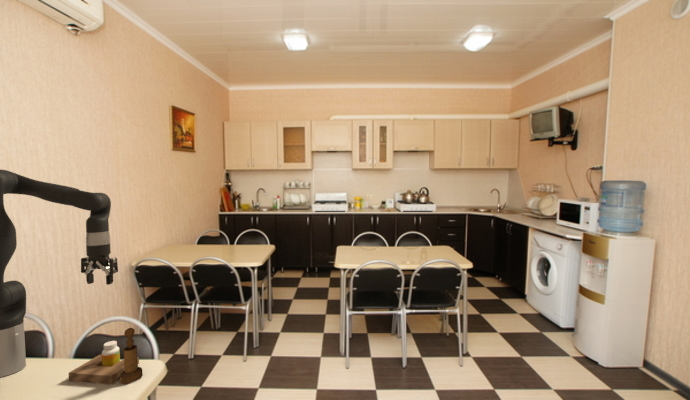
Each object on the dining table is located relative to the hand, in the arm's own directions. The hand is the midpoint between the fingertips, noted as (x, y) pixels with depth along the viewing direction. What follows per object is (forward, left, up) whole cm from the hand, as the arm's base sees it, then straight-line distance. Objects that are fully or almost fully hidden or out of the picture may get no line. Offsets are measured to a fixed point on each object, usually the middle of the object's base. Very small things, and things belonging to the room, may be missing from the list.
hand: (100, 283), depth 124 cm
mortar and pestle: (+23, -11, -30) cm, 39 cm away
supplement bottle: (+10, -6, -30) cm, 32 cm away
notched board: (+10, -9, -30) cm, 33 cm away
